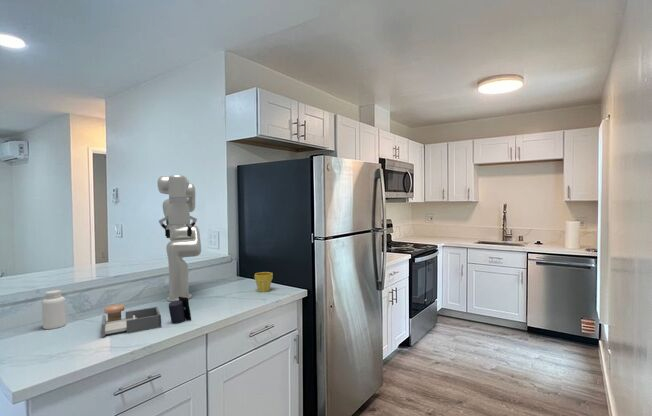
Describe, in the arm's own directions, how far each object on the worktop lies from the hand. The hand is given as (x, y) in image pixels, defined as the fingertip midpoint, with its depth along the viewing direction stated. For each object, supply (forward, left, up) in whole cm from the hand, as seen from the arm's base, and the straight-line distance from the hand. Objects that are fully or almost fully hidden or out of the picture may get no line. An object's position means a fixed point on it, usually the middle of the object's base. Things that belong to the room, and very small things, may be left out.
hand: (178, 237), depth 169 cm
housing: (+13, -17, -35) cm, 41 cm away
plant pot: (-13, +47, -35) cm, 60 cm away
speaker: (+17, -3, -35) cm, 39 cm away
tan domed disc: (+1, -27, -30) cm, 41 cm away
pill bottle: (-8, -49, -35) cm, 61 cm away
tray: (+13, -24, -35) cm, 44 cm away
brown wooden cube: (+1, -27, -35) cm, 44 cm away
